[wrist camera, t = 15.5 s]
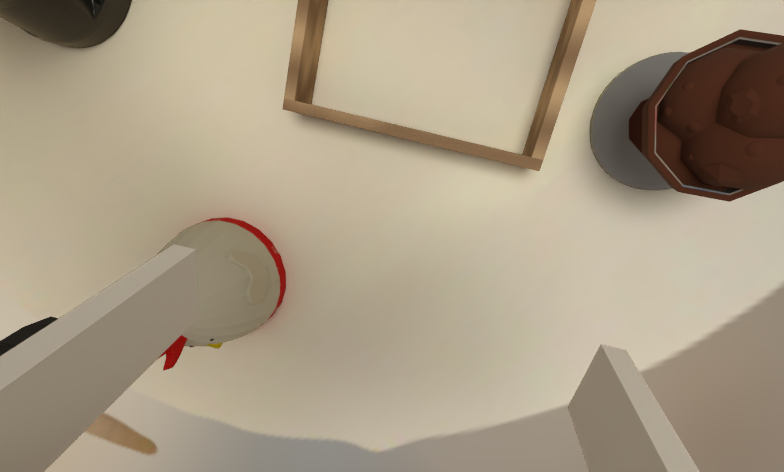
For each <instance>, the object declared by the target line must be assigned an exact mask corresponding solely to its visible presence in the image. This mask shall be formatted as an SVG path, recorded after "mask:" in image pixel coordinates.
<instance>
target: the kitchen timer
mask: <svg viewBox="0 0 784 472" xmlns="http://www.w3.org/2000/svg"><path fill="white" fill-rule="evenodd" d="M174 244H175V245H179V246H183V247H188V248H192V249H196V260H197V281H198V302H199V318H198V319H197V320H196V321H195V322H194V323H193V324H192V325H191V326H190V327H189V328H188V329H187V330H186V331H185V332H184V333H183V334H182V335H181V336H180V337H179V338H178V339H177V340H176V341H175V342H174V343H173V344H172V345H171V346H170V347H169V348H168V349H167V350H166V351H165V352H164V353H163V354H162V355H161V356H163V355H164V354H166V361H165V365H164V368H163V370H167V369H170V368H172V367H173V366H174V365H175V364H176V362H177V360H178V358H179V356H180V354H181V352H182V350H183V347H184V346H190V347H193V346H210V347H214V348H217V349H218V348H220V347H221V345H222V343H223V342H226V341H230V340H233V339H235V338H238V337H241V336H244V335H246V334H248V333H250V332H252V331H253V330H255V329H256V328H258V327H259V326H260V325H262V324H263V323H264V322H266V321H267V320H268V319H269V318H270V317H271V316H272V315H273V314H274V313H275V311H276V310H277V308H278V307H279V306H280V304H281V303H282V299H283V296H284V293H285V289H286V273H285V269H284V266H283V263H282V259H281V256H280V255H279V253H278V251H277V250H276V248H275V247H274V245H273V243H272V242H271V241H270V240H269V239H268V238H267V237H266V236H265V235H264V234H263V233H262V232H261V231H260V230H259V229H257V228H255V227H253V226H251V225H249V224H248V223H246V222H244V221H240V220H236V219H231V218H214V219H209V220H206V221H203V222H201V223H198V224H196V225H193V226H191V227H189V228H187V229H185V230H183V231H182V232H181V233H179V234H178V235H177V236H176V237H175V238H174V239H173V240H172V241H170V242H169V243H168V244H167V245H166V246H165V247H164V248H163V249H162V250H161V251H160V252H159V253H158V254H160V253H161V252H163V251H164V250H166V249H167V248H169V247H170V246H172V245H174ZM158 254H157V255H158ZM161 356H160V357H161ZM160 357H159V358H160Z"/></svg>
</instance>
